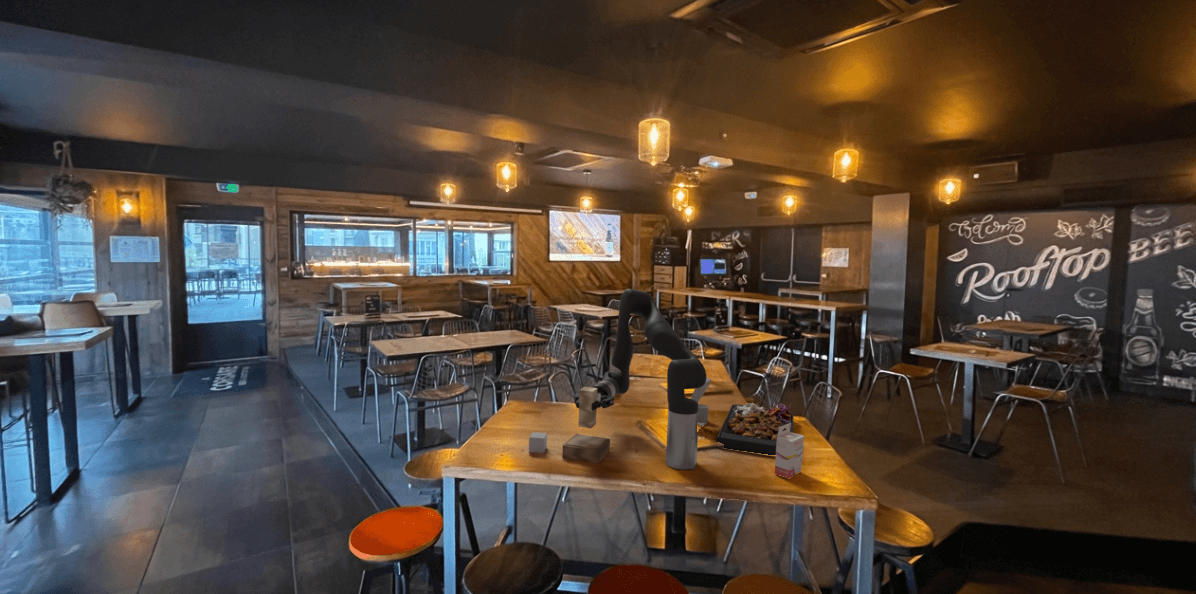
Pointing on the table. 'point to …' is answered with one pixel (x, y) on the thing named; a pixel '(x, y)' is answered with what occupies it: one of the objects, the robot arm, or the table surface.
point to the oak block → (587, 407)
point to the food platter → (754, 427)
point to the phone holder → (701, 408)
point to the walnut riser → (586, 448)
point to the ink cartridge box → (788, 452)
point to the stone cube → (538, 442)
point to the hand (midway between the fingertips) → (585, 406)
